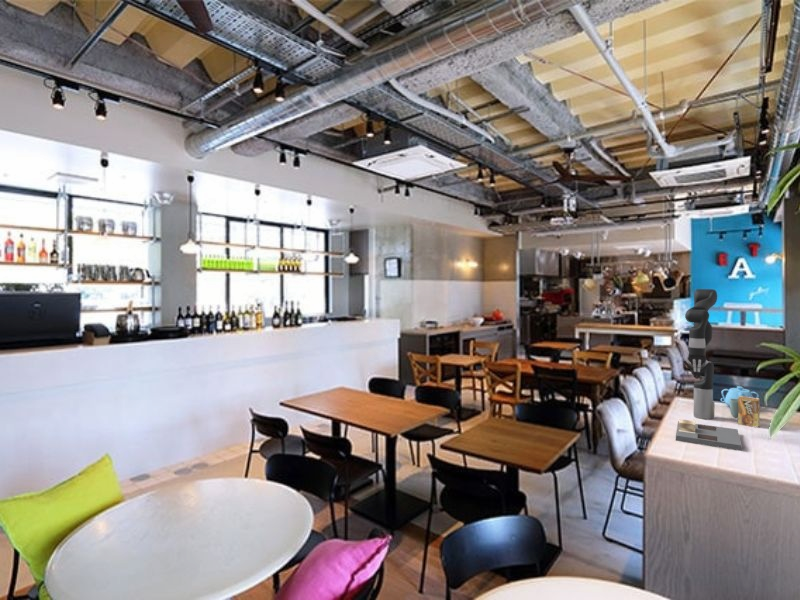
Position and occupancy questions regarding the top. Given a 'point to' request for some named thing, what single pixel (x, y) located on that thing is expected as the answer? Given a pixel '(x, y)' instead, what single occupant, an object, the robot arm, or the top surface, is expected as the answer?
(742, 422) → the candy box
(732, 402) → the cup
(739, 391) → the decorative pot
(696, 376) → the robot arm
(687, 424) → the maple block
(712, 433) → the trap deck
